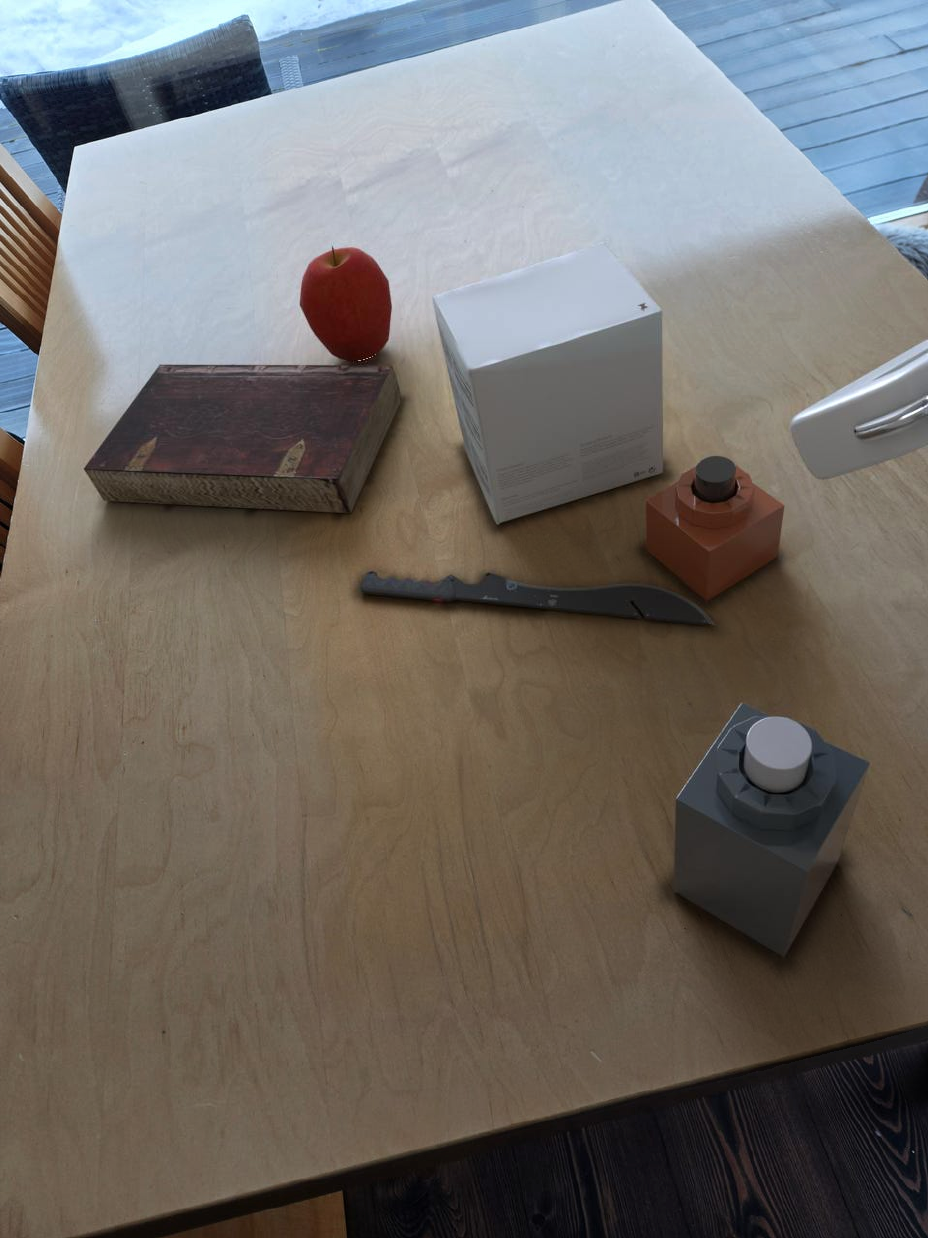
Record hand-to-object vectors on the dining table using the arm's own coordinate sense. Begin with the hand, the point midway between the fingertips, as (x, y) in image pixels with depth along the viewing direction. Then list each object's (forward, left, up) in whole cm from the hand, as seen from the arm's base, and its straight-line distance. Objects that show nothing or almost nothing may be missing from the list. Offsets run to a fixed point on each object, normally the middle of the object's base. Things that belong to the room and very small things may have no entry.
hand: (872, 394), depth 55 cm
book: (+62, +5, -25) cm, 67 cm away
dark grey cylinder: (+12, -5, -17) cm, 22 cm away
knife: (+23, +7, -25) cm, 35 cm away
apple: (+63, -14, -25) cm, 70 cm away
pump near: (-5, +20, -10) cm, 23 cm away
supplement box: (+31, -9, -25) cm, 41 cm away
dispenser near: (-5, +20, -25) cm, 32 cm away
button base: (+12, -5, -25) cm, 28 cm away
